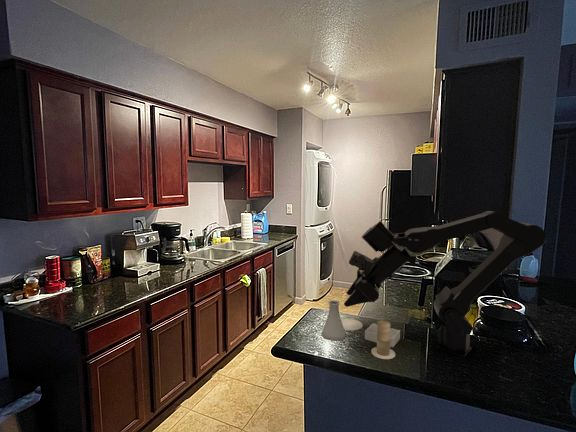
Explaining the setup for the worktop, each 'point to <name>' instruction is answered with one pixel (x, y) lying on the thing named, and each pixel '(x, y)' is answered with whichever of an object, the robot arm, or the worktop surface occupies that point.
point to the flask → (333, 323)
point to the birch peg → (383, 338)
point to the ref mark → (390, 356)
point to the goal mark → (351, 324)
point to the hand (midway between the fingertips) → (346, 299)
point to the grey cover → (372, 334)
